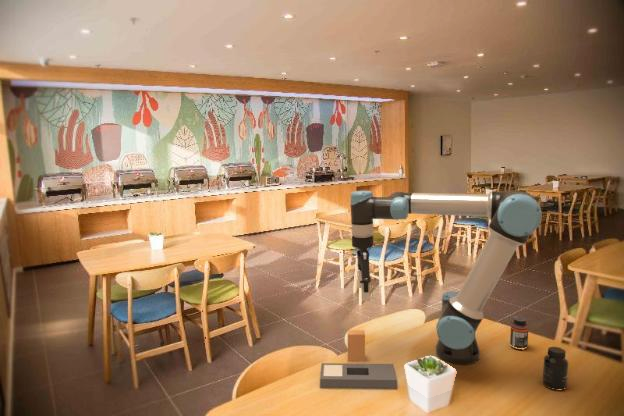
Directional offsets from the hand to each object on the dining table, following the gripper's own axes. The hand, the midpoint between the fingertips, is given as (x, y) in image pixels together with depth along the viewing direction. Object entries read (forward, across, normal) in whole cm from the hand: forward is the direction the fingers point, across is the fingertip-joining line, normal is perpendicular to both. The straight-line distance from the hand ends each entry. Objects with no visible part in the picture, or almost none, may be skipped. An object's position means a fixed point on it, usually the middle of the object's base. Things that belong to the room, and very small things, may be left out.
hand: (364, 294), depth 157 cm
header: (+24, +17, -4) cm, 30 cm away
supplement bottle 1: (+26, -7, +58) cm, 63 cm away
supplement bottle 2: (+26, +19, +58) cm, 66 cm away
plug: (+24, +3, -4) cm, 24 cm away
